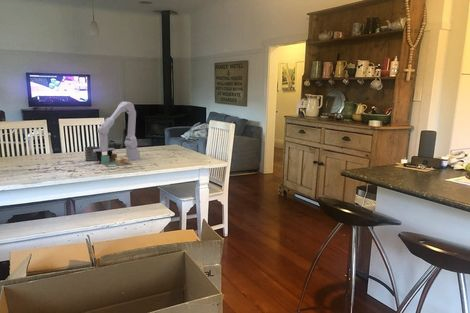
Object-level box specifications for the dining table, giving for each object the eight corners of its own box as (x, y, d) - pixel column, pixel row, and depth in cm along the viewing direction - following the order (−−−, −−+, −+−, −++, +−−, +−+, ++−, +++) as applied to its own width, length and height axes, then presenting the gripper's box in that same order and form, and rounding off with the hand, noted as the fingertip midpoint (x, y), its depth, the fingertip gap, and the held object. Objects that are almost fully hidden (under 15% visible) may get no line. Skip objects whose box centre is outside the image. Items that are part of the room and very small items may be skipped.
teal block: (107, 162, 262) (107, 154, 261) (109, 163, 257) (109, 156, 256) (99, 163, 259) (99, 155, 257) (101, 164, 254) (101, 156, 253)
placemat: (126, 161, 264) (126, 161, 264) (133, 165, 253) (133, 164, 253) (101, 164, 254) (101, 163, 254) (107, 168, 243) (107, 167, 243)
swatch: (114, 164, 251) (114, 164, 251) (116, 166, 247) (116, 165, 247) (107, 165, 248) (107, 165, 248) (109, 166, 244) (109, 166, 244)
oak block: (125, 162, 259) (125, 157, 258) (128, 164, 254) (128, 158, 253) (115, 163, 255) (115, 158, 254) (118, 165, 250) (118, 159, 249)
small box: (102, 160, 268) (102, 146, 266) (97, 162, 261) (96, 148, 259) (90, 159, 270) (90, 145, 268) (85, 161, 264) (84, 147, 262)
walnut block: (114, 160, 270) (114, 153, 269) (117, 161, 265) (116, 154, 264) (107, 160, 267) (107, 153, 266) (109, 162, 262) (109, 154, 261)
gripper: (112, 141, 262) (112, 159, 265) (91, 142, 254) (92, 161, 257) (115, 142, 257) (116, 161, 259) (94, 144, 248) (95, 163, 251)
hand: (104, 161), depth 258 cm, fingers closed on teal block, 5 cm apart
